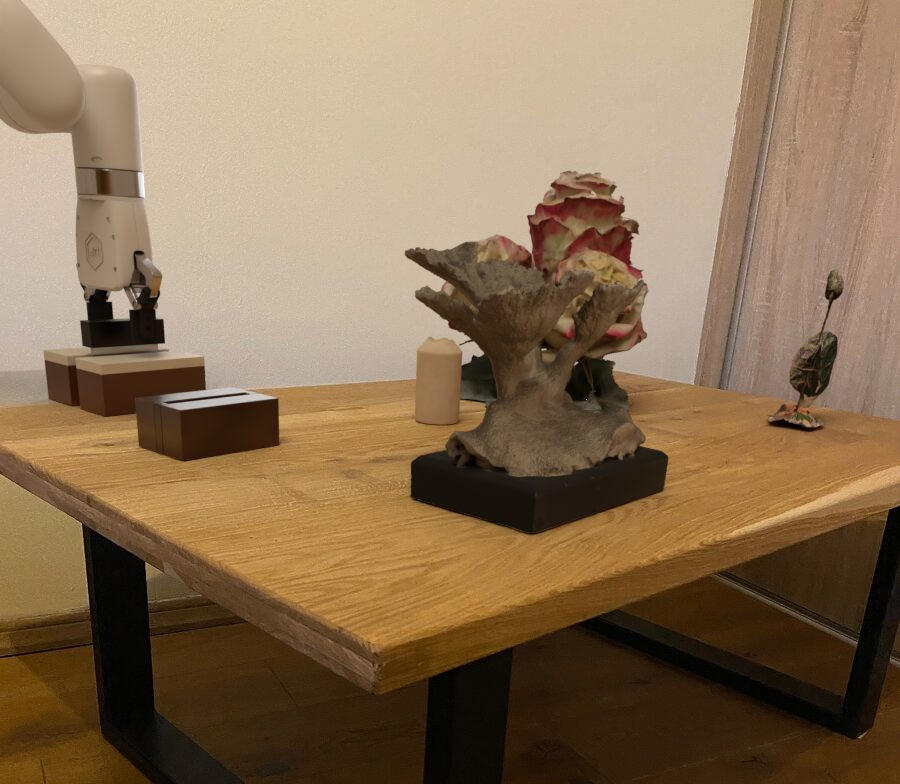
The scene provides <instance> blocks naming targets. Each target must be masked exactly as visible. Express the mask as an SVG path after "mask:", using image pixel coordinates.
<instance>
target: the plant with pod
mask: <svg viewBox="0 0 900 784" xmlns="http://www.w3.org/2000/svg"><path fill="white" fill-rule="evenodd" d="M844 288H845V281H844V277H843V275H842V273H841V272H840V270H839V268H835V269H832V270H831V271H830V272H829V274H828V276H827V278H826V284H825V291H824V298H825V300H827V301H828V305H827V311H826V314H825V318H824V321H823V323H822V326H821V330H820V331H818V332H817V333H815V334H813V335H811V336H809V338H808V339H807V340H806V341H805V343H803V344H802V345H801V346H800V347H799V349H798V350H797V353H795V355H794V357H793V359H792V360H791V365H790V367H789V384H790V385H791V387H792V388H793V389H794V390H795V391H796V392H798V393H799V398H798V401H797V404H792V403H786V402H785V403H782V404H781V406H780V407H779V409H778V410H777V411H776V412H775V413H773V414H767V415H766V417H768V420H767V421H768V422H770V423H771V422H774V421H775V422H776V421H780V420H781V421H782V420H784V421H785V422H787V421H788V423H792V424H793V425H798V426H799V425H800V426H801V427H803V428H807V429H809V428H811V429H812V428H818V427H820V426H826V424H827V423H826V421H824V420H822V418H821V417H816V418H814V416H813V414H812V409H811V407H810V406H811V405H812V404H813V403H814V402H815V401H816V400H817V399H818V398H819V397H820V395H822V394H823V393H824V392H825V390H826V389H827V388H828V387H829V384H830V381H831V377H832V374H833V368H834V364H835V361H836V358H837V355H838V345H839V343H838V336H837V335H836V334H834V333H833V332H832V331H828V330H825V326H826V324H827V320H828V319H829V315H830V312H831V309H832V305H833V303H834V301H837V299H839V298H840V297H841V295H842V294H843V292H844ZM839 334H842V331H841V332H840V331H839Z"/></svg>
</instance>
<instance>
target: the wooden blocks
mask: <svg viewBox="0 0 900 784" xmlns="http://www.w3.org/2000/svg"><path fill="white" fill-rule="evenodd" d="M42 351H43V352H42V353H43V361H44V369H45V379H46V386H47V394H48V400H51V401H55V402H58V403H61V404H64V405H67V406H70V407H76V406H77V407H78V406H79V409H80V410H83V411H86V412H89V413H92V414H95V415H99V416H103V417H105V418H106V417H114V416H123V415H131V414H136V404H135V398H138V397H147V396H156V395H166V394H175V393H184V392H193V391H202V390H207V384H206V365H205V364H206V362H205V361H206V360H205V356H204V355H199V354H196V353H195V354H194V353H190V352H185V351H181V350H170V349H169V348H166V347H162V346H158V352H153V353H139V354H125V355H111V356H97V357H91V349H90V348H89V347H84V346H83V347H71V348H69V347H68V348H53V349H43V350H42Z"/></svg>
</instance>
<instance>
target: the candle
mask: <svg viewBox="0 0 900 784" xmlns="http://www.w3.org/2000/svg"><path fill="white" fill-rule="evenodd" d="M462 365H463V350H462V349H461V348H460V346H459V345H458V344H457V343H456V342H455V341H454V339H453V338H451V339H449V338H448V337H445V336H444V337H440V338H437V339H435V338H434V337H432V336H427V337H426V339H425V340H424V341H423V343H422V344H421V345H420V346H419V347H418V348H417V349H416V368H415V369H416V370H415V398H414V419H415V421H416V422H418V423H422V424H426V425H427V424H428V425H438V426H439V425H443V426H444V425H452V424H457V423H458V422H459V419H460V408H461V407H460V406H461V405H460V404H461V403H460V402H461V398H460V388H461V369H462Z"/></svg>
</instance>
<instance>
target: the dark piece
mask: <svg viewBox="0 0 900 784" xmlns="http://www.w3.org/2000/svg"><path fill="white" fill-rule="evenodd" d="M79 324H80V335H81V345H82V347H83V348H84V347H89V348H90V349H91V357H97V356H111V355H125V354H139V353H153V352H158V347H159V345H163V344H166V334H165V320H164V318H159V317H156V324H157V339H158V341H157V343H156V344H144V345H135V344H133V343H132V341H131V329H130V317H128V318H113V319H102V320H88V319H80V320H79Z"/></svg>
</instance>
